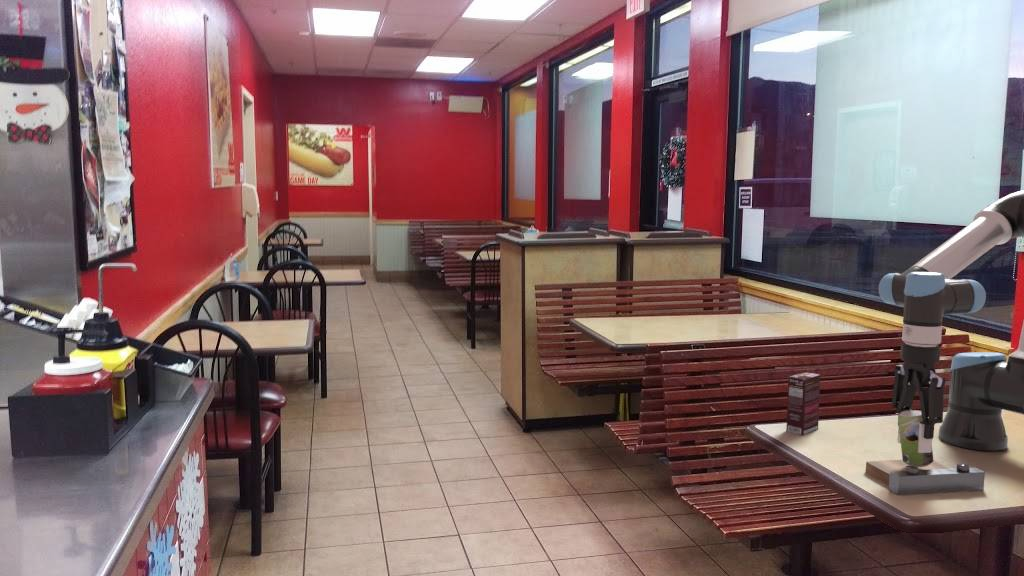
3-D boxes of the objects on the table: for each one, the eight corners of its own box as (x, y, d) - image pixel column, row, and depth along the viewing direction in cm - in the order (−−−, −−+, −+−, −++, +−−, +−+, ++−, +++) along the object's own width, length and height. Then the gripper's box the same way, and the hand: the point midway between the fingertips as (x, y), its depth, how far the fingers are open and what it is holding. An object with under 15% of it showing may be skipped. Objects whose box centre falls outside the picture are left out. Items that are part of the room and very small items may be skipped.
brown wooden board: (928, 470, 177) (929, 457, 177) (960, 486, 168) (961, 473, 167) (865, 474, 175) (866, 461, 175) (894, 490, 165) (894, 477, 165)
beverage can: (937, 470, 166) (940, 416, 165) (900, 468, 167) (903, 414, 166) (927, 461, 172) (930, 408, 171) (891, 459, 174) (894, 407, 172)
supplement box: (801, 429, 207) (804, 371, 206) (818, 433, 204) (821, 374, 202) (784, 435, 202) (787, 376, 200) (801, 440, 198) (804, 379, 196)
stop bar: (973, 484, 167) (974, 461, 167) (983, 490, 164) (985, 466, 164) (888, 489, 164) (890, 466, 164) (897, 495, 161) (899, 471, 161)
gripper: (877, 336, 176) (872, 434, 178) (935, 352, 157) (928, 462, 160) (907, 335, 177) (901, 433, 180) (968, 351, 158) (960, 460, 161)
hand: (914, 447), depth 170 cm, fingers closed on beverage can, 6 cm apart
